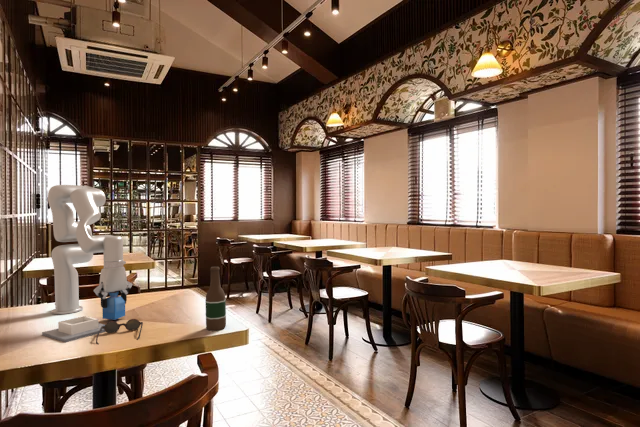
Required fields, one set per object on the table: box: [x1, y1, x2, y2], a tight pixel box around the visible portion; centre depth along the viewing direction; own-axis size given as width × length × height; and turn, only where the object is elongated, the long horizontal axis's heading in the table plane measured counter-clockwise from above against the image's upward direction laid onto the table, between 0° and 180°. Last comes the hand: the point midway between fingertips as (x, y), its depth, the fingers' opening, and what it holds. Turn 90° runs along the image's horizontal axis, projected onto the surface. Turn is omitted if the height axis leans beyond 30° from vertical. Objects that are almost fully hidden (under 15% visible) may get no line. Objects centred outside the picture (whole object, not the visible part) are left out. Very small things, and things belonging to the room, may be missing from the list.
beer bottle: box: [205, 266, 227, 332], centre depth 158 cm, size 8×8×24 cm
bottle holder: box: [41, 315, 107, 343], centre depth 157 cm, size 18×18×4 cm
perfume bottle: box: [101, 291, 126, 320], centre depth 174 cm, size 6×6×12 cm
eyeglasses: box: [95, 318, 144, 345], centre depth 150 cm, size 15×15×5 cm
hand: (114, 305), depth 174 cm, fingers closed on perfume bottle, 8 cm apart
